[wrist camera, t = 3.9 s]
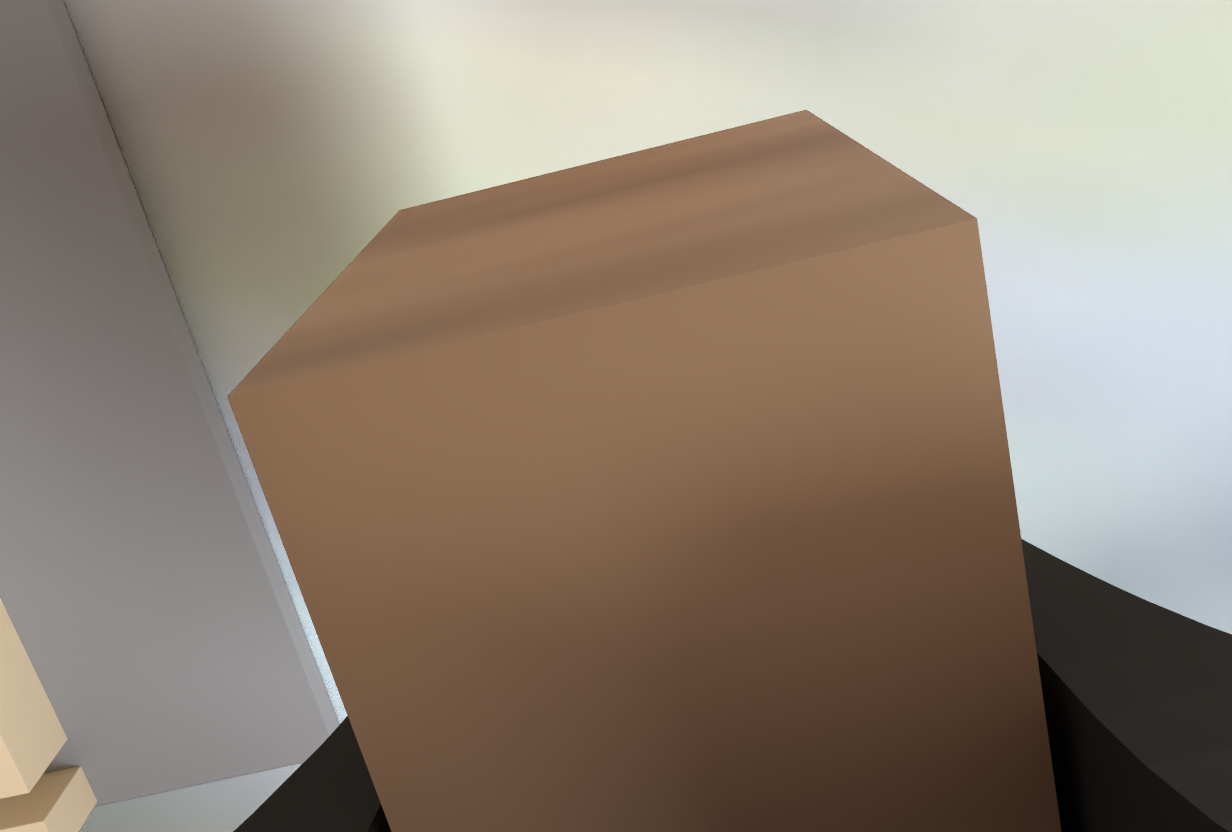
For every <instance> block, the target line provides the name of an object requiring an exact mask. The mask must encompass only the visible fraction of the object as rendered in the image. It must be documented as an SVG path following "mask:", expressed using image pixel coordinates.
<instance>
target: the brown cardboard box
mask: <svg viewBox="0 0 1232 832" xmlns="http://www.w3.org/2000/svg"><path fill="white" fill-rule="evenodd" d="M228 399H229V402H230V404H231V407H232V410H233V412H234V415H235V418H236V420H237V423H238V426H239V428H240V431H241V434H242V436H243V439H244V441H245V444H246V447H247V449H248V452H249V455H250V457H251V460H252V463H253V465H254V468H255V471H256V473H257V476H258V479H259V481H260V484H261V487H262V489H263V492H264V495H265V497H266V500H267V503H268V505H269V508H270V511H271V513H272V516H273V518H274V521H275V524H276V526H277V529H278V532H279V534H280V537H281V540H282V542H283V545H284V548H285V550H286V553H287V556H288V558H289V561H290V564H291V566H292V569H293V572H294V574H295V577H296V580H297V582H298V585H299V588H300V590H301V593H302V595H303V598H304V601H305V603H306V606H307V609H308V611H309V614H310V617H311V619H312V622H313V625H314V627H315V630H316V633H317V635H318V638H319V641H320V643H321V646H322V649H323V651H324V654H325V657H326V659H327V662H328V664H329V667H330V670H331V672H332V675H333V678H334V680H335V683H336V686H337V688H338V691H339V694H340V696H341V699H342V702H343V704H344V707H345V710H346V712H347V715H348V718H349V720H350V723H351V726H352V728H353V731H354V734H355V736H356V739H357V741H358V744H359V747H360V749H361V752H362V755H363V757H364V760H365V763H366V765H367V768H368V771H369V773H370V776H371V779H372V781H373V784H374V787H375V789H376V792H377V795H378V797H379V800H380V803H381V805H382V808H383V811H384V813H385V816H386V818H387V821H388V824H389V826H390V829H391V832H1061V824H1060V817H1059V810H1058V803H1057V795H1056V788H1055V781H1054V774H1053V766H1052V759H1051V752H1050V745H1049V737H1048V730H1047V723H1046V716H1045V708H1044V701H1043V694H1042V687H1041V679H1040V672H1039V665H1038V658H1037V650H1036V643H1035V636H1034V629H1033V622H1032V614H1031V607H1030V600H1029V593H1028V585H1027V578H1026V571H1025V564H1024V556H1023V549H1022V542H1021V535H1020V527H1019V520H1018V513H1017V506H1016V498H1015V491H1014V484H1013V477H1012V469H1011V462H1010V455H1009V448H1008V440H1007V433H1006V426H1005V419H1004V411H1003V404H1002V397H1001V390H1000V383H999V375H998V368H997V361H996V354H995V346H994V339H993V332H992V325H991V317H990V310H989V303H988V296H987V288H986V281H985V274H984V267H983V259H982V252H981V245H980V238H979V230H978V223H977V218H975V217H974V216H972V215H970V214H969V213H967V212H966V211H964V210H963V209H961V208H960V207H958V206H956V205H955V204H953V203H952V202H950V201H949V200H947V199H945V198H944V197H942V196H941V195H939V194H938V193H936V192H934V191H933V190H931V189H930V188H928V187H927V186H925V185H923V184H922V183H920V182H919V181H917V180H916V179H914V178H912V177H911V176H909V175H908V174H906V173H905V172H903V171H901V170H900V169H898V168H897V167H895V166H894V165H892V164H891V163H889V162H887V161H886V160H884V159H883V158H881V157H880V156H878V155H876V154H875V153H873V152H872V151H870V150H869V149H867V148H865V147H864V146H862V145H861V144H859V143H858V142H856V141H854V140H853V139H851V138H850V137H848V136H847V135H845V134H843V133H842V132H840V131H839V130H837V129H836V128H834V127H832V126H831V125H829V124H828V123H826V122H825V121H823V120H822V119H820V118H818V117H817V116H815V115H814V114H812V113H811V112H809V111H807V110H804V111H800V112H795V113H791V114H787V115H783V116H779V117H775V118H771V119H767V120H763V121H759V122H755V123H751V124H747V125H743V126H739V127H735V128H731V129H727V130H723V131H719V132H714V133H710V134H706V135H702V136H698V137H694V138H690V139H686V140H682V141H678V142H674V143H670V144H666V145H662V146H658V147H654V148H650V149H646V150H642V151H638V152H634V153H629V154H625V155H621V156H617V157H613V158H609V159H605V160H601V161H597V162H593V163H589V164H585V165H581V166H577V167H573V168H569V169H565V170H561V171H557V172H553V173H548V174H544V175H540V176H536V177H532V178H528V179H524V180H520V181H516V182H512V183H508V184H504V185H500V186H496V187H492V188H488V189H484V190H480V191H476V192H472V193H467V194H463V195H459V196H455V197H451V198H447V199H443V200H439V201H435V202H431V203H427V204H423V205H419V206H415V207H411V208H407V209H403V210H399V212H398V213H397V214H396V215H395V216H394V217H393V218H392V219H391V220H390V221H389V222H388V223H387V224H386V226H385V227H384V228H383V229H382V230H381V231H380V232H379V233H378V234H377V235H376V236H375V237H374V239H373V240H372V241H371V242H370V243H369V244H368V245H367V246H366V247H365V248H364V249H363V250H362V252H361V253H360V254H359V255H358V256H357V257H356V258H355V259H354V260H353V261H352V262H351V263H350V264H349V266H348V267H347V268H346V269H345V270H344V271H343V272H342V273H341V274H340V275H339V276H338V277H337V279H336V280H335V281H334V282H333V283H332V284H331V285H330V286H329V287H328V288H327V289H326V290H325V291H324V293H323V294H322V295H321V296H320V297H319V298H318V299H317V300H316V301H315V302H314V303H313V304H312V306H311V307H310V308H309V309H308V310H307V311H306V312H305V313H304V314H303V315H302V316H301V317H300V319H299V320H298V321H297V322H296V323H295V324H294V325H293V326H292V327H291V328H290V329H289V330H288V331H287V333H286V334H285V335H284V336H283V337H282V338H281V339H280V340H279V341H278V342H277V343H276V344H275V346H274V347H273V348H272V349H271V350H270V351H269V352H268V353H267V354H266V355H265V356H264V357H263V358H262V360H261V361H260V362H259V363H258V364H257V365H256V366H255V367H254V368H253V369H252V370H251V371H250V373H249V374H248V375H247V376H246V377H245V378H244V379H243V380H242V381H241V382H240V383H239V384H238V386H237V387H236V388H235V389H234V390H233V391H232V392H231V393H230V394H229V395H228Z"/></svg>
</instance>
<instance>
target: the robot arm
mask: <svg viewBox="0 0 1232 832" xmlns="http://www.w3.org/2000/svg"><path fill="white" fill-rule="evenodd" d="M1021 542H1022V549H1023V556H1024V564H1025V571H1026V578H1027V585H1028V593H1029V600H1030V607H1031V614H1032V622H1033V629H1034V636H1035V643H1036V650H1037V658H1038V665H1039V672H1040V679H1041V687H1042V694H1043V701H1044V708H1045V716H1046V723H1047V730H1048V737H1049V745H1050V752H1051V759H1052V766H1053V774H1054V781H1055V788H1056V795H1057V803H1058V810H1059V817H1060V824H1061V832H1232V635H1231V634H1229V633H1226V632H1223V631H1220V630H1218V629H1215V628H1212V627H1209V626H1207V625H1204V624H1202V623H1199V622H1197V621H1194V620H1192V619H1190V618H1187V617H1185V616H1182V615H1180V614H1178V613H1175V612H1173V611H1170V610H1168V609H1165V608H1163V607H1161V606H1158V605H1156V604H1153V603H1151V602H1148V601H1146V600H1144V599H1142V598H1139V597H1137V596H1135V595H1133V594H1131V593H1128V592H1126V591H1124V590H1122V589H1120V588H1117V587H1115V586H1113V585H1111V584H1109V583H1107V582H1105V581H1103V580H1100V579H1098V578H1096V577H1094V576H1092V575H1090V574H1088V573H1086V572H1084V571H1082V570H1080V569H1078V568H1076V567H1074V566H1072V565H1070V564H1068V563H1066V562H1064V561H1062V560H1060V559H1058V558H1056V557H1055V556H1053V555H1051V554H1049V553H1047V552H1045V551H1043V550H1041V549H1039V548H1037V547H1036V546H1034V545H1032V544H1030V543H1028V542H1026V541H1024V540H1022V539H1021ZM234 832H391V829H390V826H389V824H388V821H387V818H386V816H385V813H384V811H383V808H382V805H381V803H380V800H379V797H378V795H377V792H376V789H375V787H374V784H373V781H372V779H371V776H370V773H369V771H368V768H367V765H366V763H365V760H364V757H363V755H362V752H361V749H360V747H359V744H358V741H357V739H356V736H355V734H354V731H353V728H352V726H351V723H350V720H349V718H348V716H347V717H346V718H345V719H344V721H343V722H342V723H341V724H340V725H339V726H338V727H337V728H336V729H335V730H334V732H333V733H332V734H331V735H330V736H329V737H328V738H327V739H326V740H325V741H324V743H323V744H322V745H321V746H320V747H319V748H318V749H317V750H316V751H315V752H314V753H313V754H312V755H311V756H310V757H309V758H308V759H307V760H306V761H305V762H304V763H303V764H302V765H301V766H300V767H299V768H298V769H297V770H296V771H295V772H294V773H293V774H292V775H291V776H290V777H289V778H288V779H287V780H286V781H285V782H284V783H283V784H282V785H281V786H280V787H279V788H278V789H277V790H276V791H275V792H274V793H273V794H272V795H271V796H270V797H269V798H268V799H267V800H266V801H265V802H264V803H263V804H262V805H261V806H260V807H259V808H258V809H257V810H256V811H255V812H254V813H253V814H252V815H251V816H250V817H249V818H248V819H247V820H245V821H244V822H243V823H242V824H241V825H240V826H239V827H238V828H237V829H236V830H235V831H234Z"/></svg>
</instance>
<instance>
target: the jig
mask: <svg viewBox="0 0 1232 832" xmlns="http://www.w3.org/2000/svg"><path fill="white" fill-rule="evenodd" d="M339 725H340V724H339V721H338V719H337V716H336V713H335V711H334V708H333V706H332V703H331V700H330V698H329V695H328V692H327V690H326V687H325V685H324V682H323V679H322V677H321V674H320V672H319V669H318V666H317V664H316V661H315V658H314V656H313V653H312V651H311V648H310V645H309V643H308V640H307V637H306V635H305V632H304V630H303V627H302V624H301V622H300V619H299V617H298V614H297V611H296V609H295V606H294V603H293V601H292V598H291V596H290V593H289V590H288V588H287V585H286V582H285V580H284V577H283V575H282V572H281V569H280V567H279V564H278V562H277V559H276V556H275V554H274V551H273V548H272V546H271V543H270V541H269V538H268V535H267V533H266V530H265V527H264V525H263V522H262V520H261V517H260V514H259V512H258V509H257V507H256V504H255V501H254V499H253V496H252V493H251V491H250V488H249V486H248V483H247V480H246V478H245V475H244V472H243V470H242V467H241V465H240V462H239V459H238V457H237V454H236V451H235V449H234V446H233V444H232V441H231V438H230V436H229V433H228V431H227V428H226V425H225V423H224V420H223V417H222V415H221V412H220V410H219V407H218V404H217V402H216V399H215V396H214V394H213V391H212V389H211V386H210V383H209V381H208V378H207V376H206V373H205V370H204V368H203V365H202V362H201V360H200V357H199V355H198V352H197V349H196V347H195V344H194V341H193V339H192V336H191V334H190V331H189V328H188V326H187V323H186V321H185V318H184V315H183V313H182V310H181V307H180V305H179V302H178V300H177V297H176V294H175V292H174V289H173V286H172V284H171V281H170V279H169V276H168V273H167V271H166V268H165V265H164V263H163V260H162V258H161V255H160V252H159V250H158V247H157V245H156V242H155V239H154V237H153V234H152V231H151V229H150V226H149V224H148V221H147V218H146V216H145V213H144V210H143V208H142V205H141V203H140V200H139V197H138V195H137V192H136V190H135V187H134V184H133V182H132V179H131V176H130V174H129V171H128V169H127V166H126V163H125V161H124V158H123V155H122V153H121V150H120V148H119V145H118V142H117V140H116V137H115V135H114V132H113V129H112V127H111V124H110V121H109V119H108V116H107V114H106V111H105V108H104V106H103V103H102V100H101V98H100V95H99V93H98V90H97V87H96V85H95V82H94V79H93V77H92V74H91V72H90V69H89V66H88V64H87V61H86V59H85V56H84V53H83V51H82V48H81V45H80V43H79V40H78V38H77V35H76V32H75V30H74V27H73V24H72V22H71V19H70V17H69V14H68V11H67V9H66V6H65V4H64V1H63V0H0V832H79V830H80V829H81V827H82V825H83V824H84V822H85V821H86V819H87V817H88V816H89V814H90V812H91V811H92V809H93V808H94V807H96V806H100V805H105V804H110V803H115V802H119V801H124V800H129V799H134V798H138V797H143V796H148V795H152V794H157V793H162V792H167V791H171V790H176V789H181V788H186V787H190V786H195V785H200V784H204V783H209V782H214V781H219V780H223V779H228V778H233V777H238V776H242V775H247V774H252V773H257V772H261V771H266V770H271V769H275V768H280V767H285V766H290V765H294V764H299V763H304V762H305V761H306V760H307V759H308V758H309V757H310V756H311V755H312V754H313V753H314V752H315V751H316V750H317V749H318V748H319V747H320V746H321V745H322V744H323V743H324V741H325V740H326V739H327V738H328V737H329V736H330V735H331V734H332V733H333V732H334V730H335V729H336V728H337V727H338V726H339Z"/></svg>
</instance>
